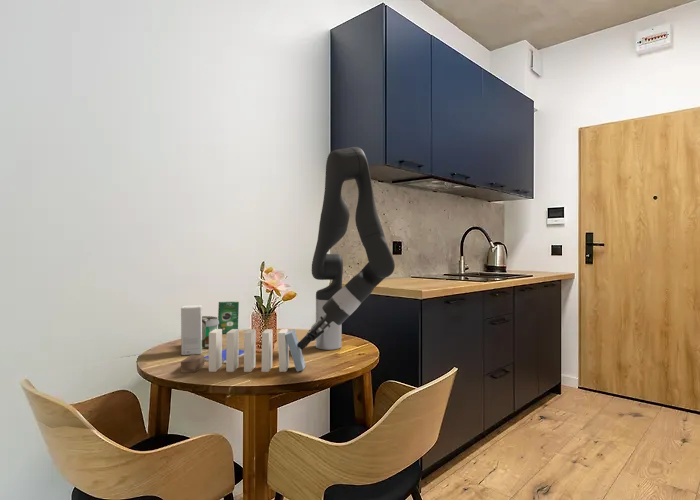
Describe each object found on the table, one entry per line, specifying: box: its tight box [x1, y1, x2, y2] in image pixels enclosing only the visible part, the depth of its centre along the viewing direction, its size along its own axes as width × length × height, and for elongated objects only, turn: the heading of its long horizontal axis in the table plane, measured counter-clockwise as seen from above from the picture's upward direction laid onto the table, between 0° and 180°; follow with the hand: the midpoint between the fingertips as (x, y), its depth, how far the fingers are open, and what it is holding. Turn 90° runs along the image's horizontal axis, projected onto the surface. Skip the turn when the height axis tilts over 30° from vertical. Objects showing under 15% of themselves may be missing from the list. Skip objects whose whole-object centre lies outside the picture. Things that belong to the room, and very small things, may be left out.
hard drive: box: [204, 349, 244, 364], centre depth 140 cm, size 2×8×12 cm
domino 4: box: [261, 328, 274, 373], centre depth 126 cm, size 2×6×11 cm, turn 0°
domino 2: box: [225, 328, 240, 373], centre depth 126 cm, size 2×6×11 cm, turn 1°
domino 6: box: [285, 328, 306, 373], centre depth 126 cm, size 2×6×11 cm, turn 0°
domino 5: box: [277, 328, 290, 373], centre depth 126 cm, size 2×6×11 cm, turn 0°
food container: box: [202, 315, 219, 350], centre depth 157 cm, size 12×6×10 cm, turn 34°
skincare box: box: [180, 304, 203, 356], centre depth 146 cm, size 8×7×16 cm
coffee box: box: [217, 300, 240, 335], centre depth 180 cm, size 8×3×13 cm, turn 124°
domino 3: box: [243, 328, 257, 373], centre depth 126 cm, size 2×6×11 cm, turn 1°
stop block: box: [180, 354, 205, 373], centre depth 126 cm, size 4×8×3 cm, turn 0°
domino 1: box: [208, 328, 223, 373], centre depth 126 cm, size 2×6×11 cm, turn 1°
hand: (299, 347), depth 126 cm, fingers closed
